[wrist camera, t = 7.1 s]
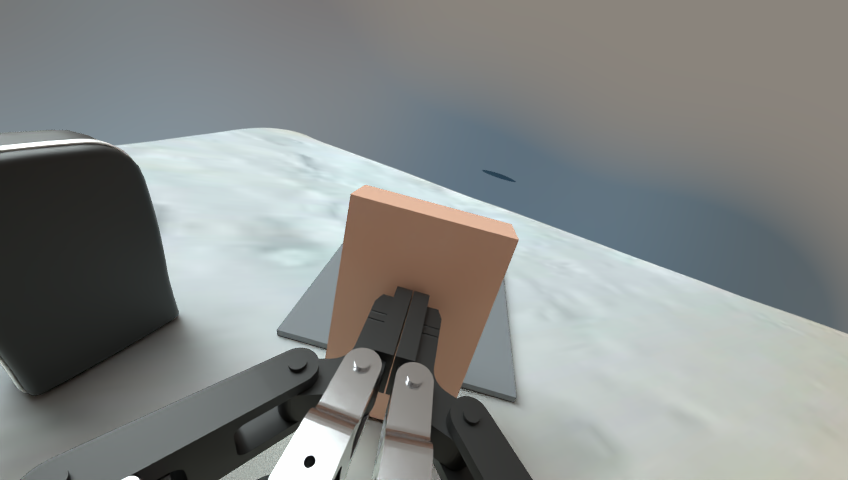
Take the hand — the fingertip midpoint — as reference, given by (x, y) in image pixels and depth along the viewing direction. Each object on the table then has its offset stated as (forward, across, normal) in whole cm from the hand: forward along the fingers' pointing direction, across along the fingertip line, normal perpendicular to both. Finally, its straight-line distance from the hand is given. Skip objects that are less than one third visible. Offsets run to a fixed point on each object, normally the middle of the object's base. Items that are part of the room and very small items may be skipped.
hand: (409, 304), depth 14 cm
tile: (0, 0, +8) cm, 8 cm away
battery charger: (-1, +17, +8) cm, 19 cm away
